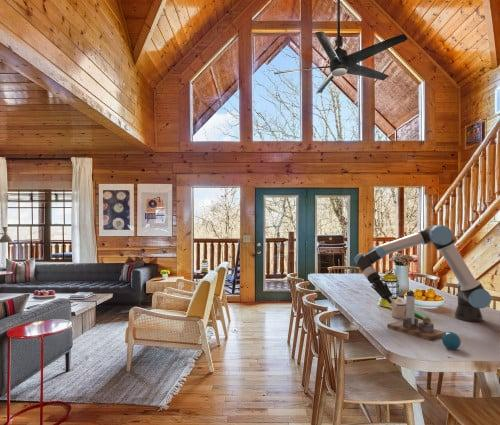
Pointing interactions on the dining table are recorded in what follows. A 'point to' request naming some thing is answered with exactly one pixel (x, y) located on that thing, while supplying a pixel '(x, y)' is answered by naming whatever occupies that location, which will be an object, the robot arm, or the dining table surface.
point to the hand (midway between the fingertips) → (395, 307)
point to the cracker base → (417, 328)
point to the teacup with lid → (399, 309)
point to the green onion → (420, 315)
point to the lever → (410, 306)
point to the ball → (451, 340)
